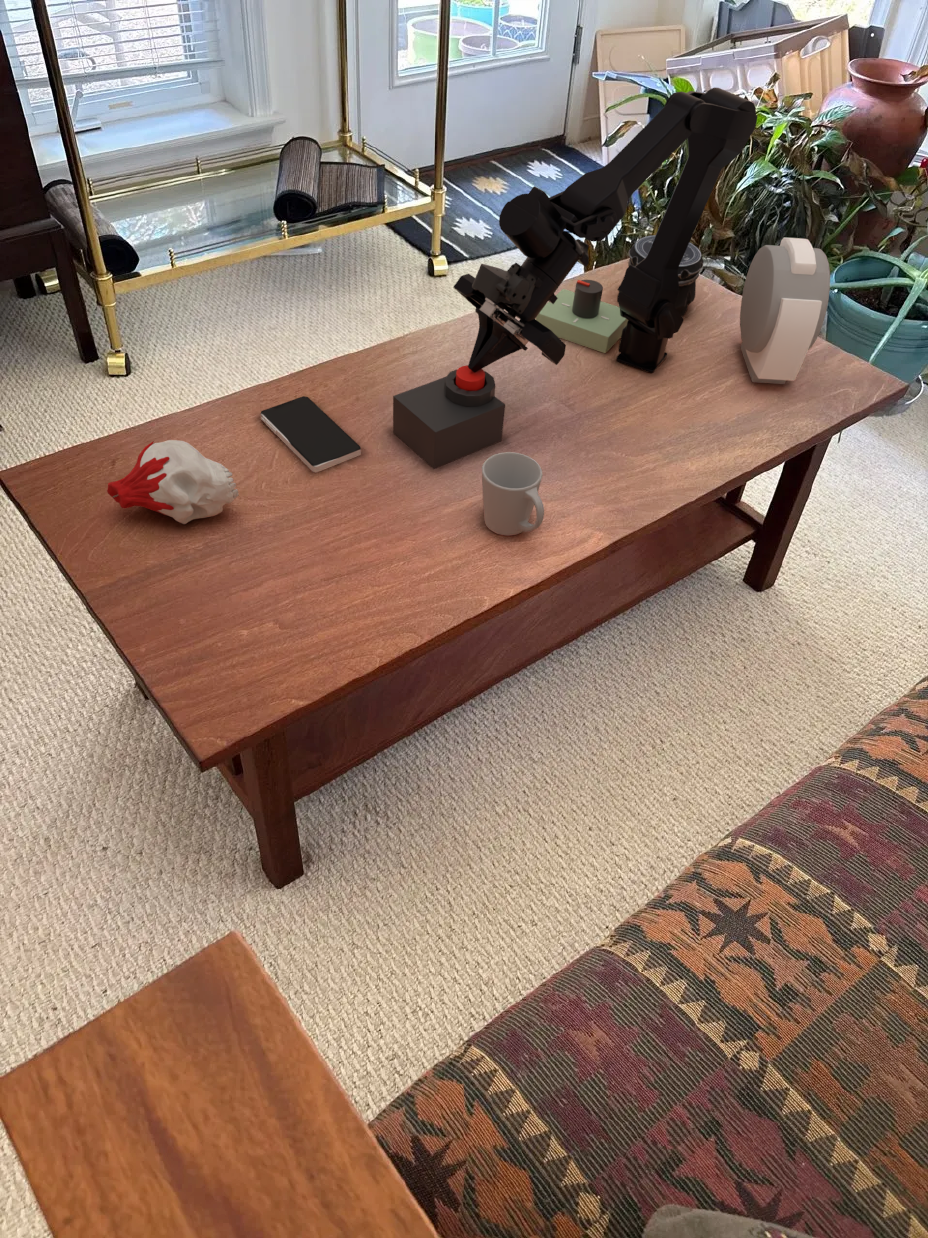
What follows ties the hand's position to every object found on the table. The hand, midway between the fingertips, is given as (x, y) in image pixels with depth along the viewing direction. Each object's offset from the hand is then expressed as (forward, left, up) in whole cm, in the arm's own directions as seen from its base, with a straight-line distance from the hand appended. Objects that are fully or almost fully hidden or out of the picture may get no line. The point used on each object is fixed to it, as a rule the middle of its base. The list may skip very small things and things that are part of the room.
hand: (471, 369), depth 130 cm
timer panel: (-2, -36, -10) cm, 37 cm away
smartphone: (+17, +14, -10) cm, 25 cm away
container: (-9, -51, -10) cm, 52 cm away
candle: (+22, +36, -10) cm, 44 cm away
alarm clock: (-31, -43, -10) cm, 54 cm away
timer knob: (-2, -36, -7) cm, 36 cm away
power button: (0, 0, -2) cm, 2 cm away
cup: (-16, +15, -10) cm, 24 cm away
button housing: (+1, +3, -10) cm, 10 cm away
